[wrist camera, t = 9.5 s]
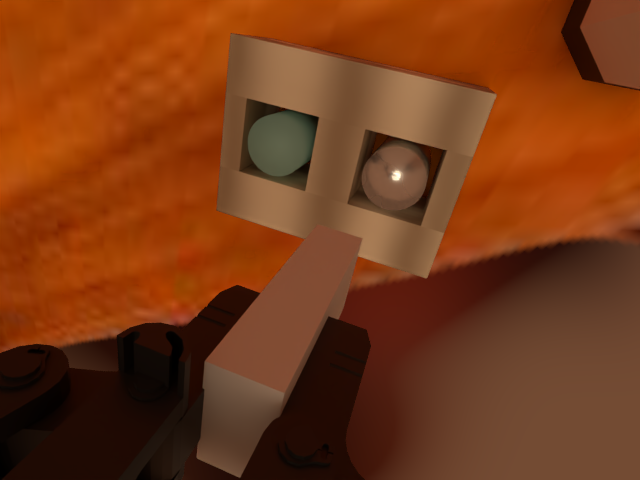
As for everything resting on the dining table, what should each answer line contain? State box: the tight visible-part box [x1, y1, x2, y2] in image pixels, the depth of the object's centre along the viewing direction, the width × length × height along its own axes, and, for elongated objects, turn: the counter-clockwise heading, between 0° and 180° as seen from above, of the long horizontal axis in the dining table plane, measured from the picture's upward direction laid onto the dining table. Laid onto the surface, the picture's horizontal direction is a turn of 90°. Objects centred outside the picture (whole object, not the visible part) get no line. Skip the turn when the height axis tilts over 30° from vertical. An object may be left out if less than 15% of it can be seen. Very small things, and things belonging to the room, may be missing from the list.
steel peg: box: [362, 136, 432, 211], centre depth 27 cm, size 4×4×6 cm
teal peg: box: [248, 109, 319, 177], centre depth 29 cm, size 4×4×6 cm
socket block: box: [217, 33, 497, 278], centre depth 28 cm, size 16×12×6 cm
